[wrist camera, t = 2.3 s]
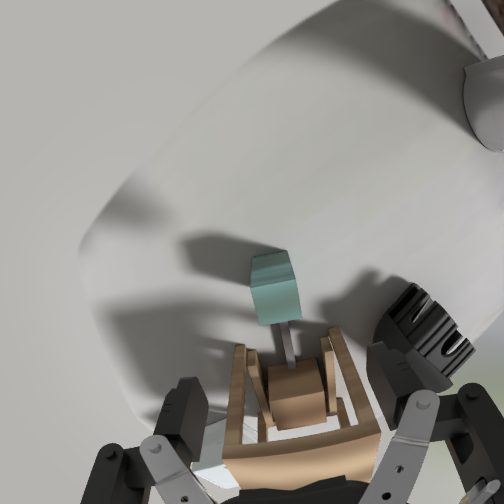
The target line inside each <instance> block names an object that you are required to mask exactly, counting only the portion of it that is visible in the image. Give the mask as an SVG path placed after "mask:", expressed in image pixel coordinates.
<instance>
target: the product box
mask: <svg viewBox="0 0 504 504" xmlns="http://www.w3.org/2000/svg"><path fill="white" fill-rule="evenodd" d="M226 420H227V418H225V419H223V420H221V421H218V422H216V423H214V424H211V425H209V426H206V427H205V431H204V437H203V443H202V449H201V455H200V461H199V462H193V465H192V472H193V473H194V474H196V475H198V476H200V477H202V478H204V479H206V480H208V481H210V482H212V483H214V484H216V485H218V486H220V487H222V488H224V489H228V488H232V487H236V486H239V484H238V483H237V482H236V480H235V479H234V477H233V476H232V474H231V473H230V471H229V470H228V468H227V467H226V466H225V464H224V462H223V461H222V450H223V446H224V437H225V428H226ZM257 439H258V433H257V432H256V431H254V430H253V429H251V428H250V427H248V426H247V425H245V424H244V423H243V437H242V444H252V443H257Z"/></svg>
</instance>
